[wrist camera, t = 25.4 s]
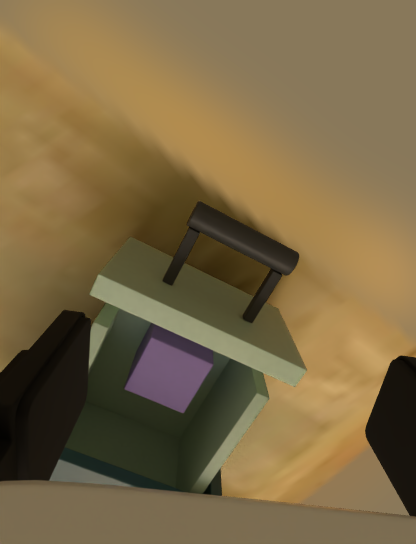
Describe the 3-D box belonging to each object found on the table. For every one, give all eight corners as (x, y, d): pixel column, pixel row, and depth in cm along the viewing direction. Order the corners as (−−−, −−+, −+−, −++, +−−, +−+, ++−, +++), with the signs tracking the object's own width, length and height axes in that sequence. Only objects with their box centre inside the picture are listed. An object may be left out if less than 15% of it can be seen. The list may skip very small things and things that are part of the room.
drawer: (160, 169, 21) (139, 179, 14) (315, 251, 23) (362, 294, 16) (60, 388, 27) (10, 471, 20) (192, 441, 28) (189, 533, 22)
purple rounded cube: (135, 352, 24) (123, 389, 21) (159, 306, 23) (151, 336, 19) (186, 374, 25) (183, 414, 21) (212, 330, 24) (214, 364, 20)
